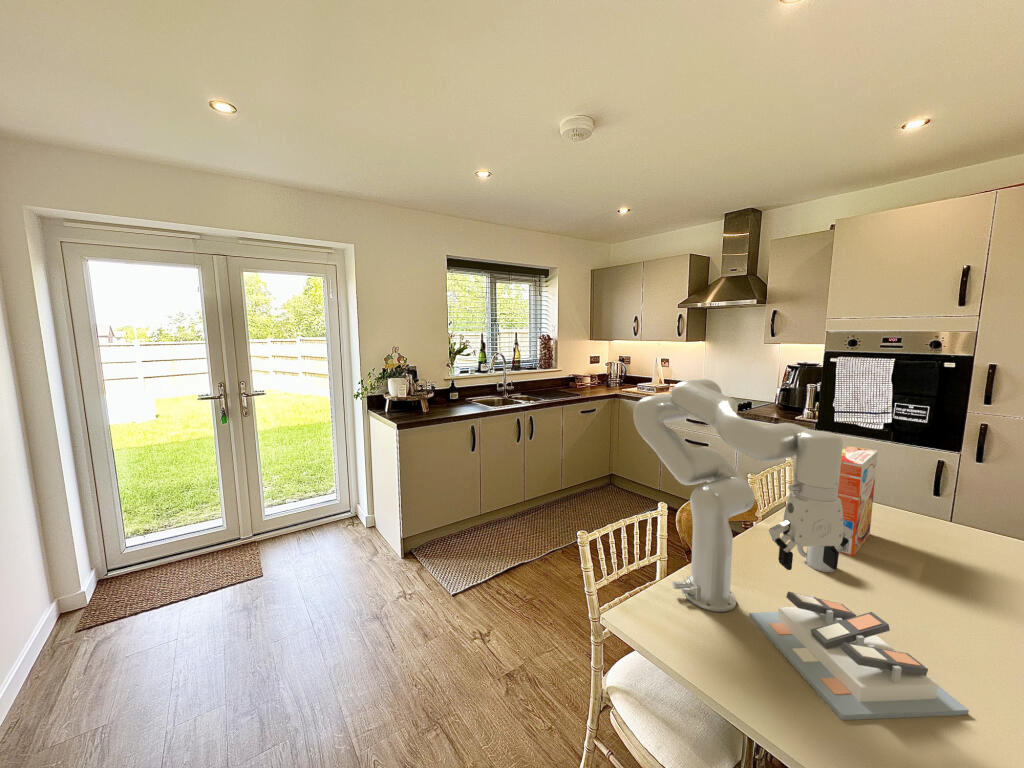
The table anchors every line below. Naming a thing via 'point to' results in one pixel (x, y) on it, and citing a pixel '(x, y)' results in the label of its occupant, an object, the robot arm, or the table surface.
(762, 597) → the table surface
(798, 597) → the rocker
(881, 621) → the rocker
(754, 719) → the table surface
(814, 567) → the cup
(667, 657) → the table surface
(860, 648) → the rocker
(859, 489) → the orange cereal box
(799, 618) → the switch unit
